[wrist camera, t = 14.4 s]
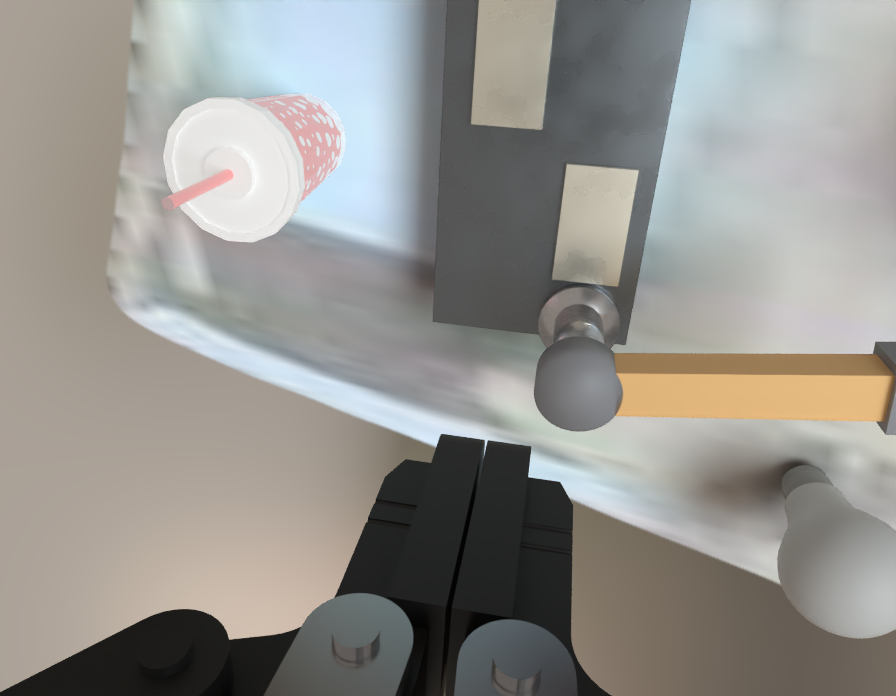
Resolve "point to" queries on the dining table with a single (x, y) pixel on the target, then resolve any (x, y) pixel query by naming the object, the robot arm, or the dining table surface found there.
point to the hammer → (713, 385)
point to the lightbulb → (836, 559)
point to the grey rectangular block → (551, 160)
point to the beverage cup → (250, 161)
